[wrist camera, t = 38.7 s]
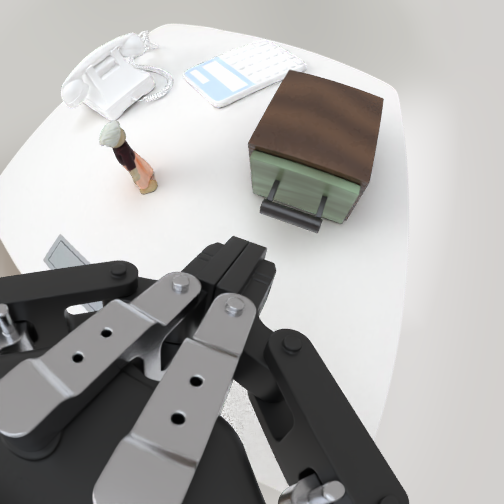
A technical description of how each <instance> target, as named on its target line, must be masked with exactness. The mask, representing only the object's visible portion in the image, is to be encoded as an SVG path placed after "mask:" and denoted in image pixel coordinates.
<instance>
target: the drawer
mask: <svg viewBox="0 0 504 504" xmlns="http://www.w3.org/2000/svg"><path fill="white" fill-rule="evenodd" d="M250 166H251V176H252V187H253V193H254V194H257V195H260V196H263V197H267V200H266V199H264V200H263V202H262V204H261V207H260V213H261V214H264V215H267V216H270V217H273V218H276V219H278V220H281V221H284V222H287V223H290V224H293V225H295V226H298V227H301V228H304V229H307V230H309V231H312V232H315V233H318V231H319V229H320V226H321V223H322V219H321V217H324V218H327V219H329V220H332V221H335V222H338V223H340V224H342V222H343V220H344V219H345V217H346V215H347V214H348V212H349V210H350V209H351V207H352V205H353V204H354V202H355V200H356V199H357V197H358V195H359V192H360V188H361V186H360V185H358V184H355V183H353V181H350V180H348V179H345V178H342V177H339V176H337V175H334V176H333V175H331V174H328V173H325V172H322V171H319V170H316V169H313V168H310V167H307V166H304V165H301V164H298V163H296V161H293V160H289V159H286V158H283V157H280V156H276V155H273V154H270V153H266V152H264V153H262V152H259V151H255V150H254V151H253V152H252V154H251V156H250ZM273 200H276V201H278V202H281V203H284V204H287V205H290V206H293V207H296V208H299V209H302V210H305V211H307V212H310V213H313V214H316V216H313V215H310V214H307V213H304V212H301V211H298V210H296V209H293V208H290V207H287V206H284V205H281V204H278V203H275V202H272V201H273Z"/></svg>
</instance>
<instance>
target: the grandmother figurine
mask: <svg viewBox="0 0 504 504" xmlns="http://www.w3.org/2000/svg"><path fill="white" fill-rule="evenodd" d="M125 139H126V135H125V132H124V130H123V129H121V128H120V124H119V122H118V121H111V122H110V123H108V124H106V125H105V126H104V128H103V129H102V131H101V133H100V138H99V143H100V145H101V146H104V145H106V146H107V147H111V148H113V151H114V153H115V156H116V158H117V160H118V161H119V163H120V164H121V165H123V167H124V168H125V169H126V170H127V171H129V173H130V174H131V176H132V178H133V180H134V183H135V184H137V185H138V187H139V188H140V192H141V193H142V194H146V193H150V192H153V191H155V190H156V188H157V182H156V181H155V180H151V179H150V178H151V176H152V175H153V169H152V168H151V166H150V165H149V164H148V163H147V162H146V161H145V160H144V159H143V158H142V157H140V156H139V155H138V154H137V153H136V152H134V151H133V150H132V149H131V148H130V146H129V145H128V143H127V142H126V140H125Z"/></svg>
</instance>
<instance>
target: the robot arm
mask: <svg viewBox="0 0 504 504" xmlns="http://www.w3.org/2000/svg"><path fill="white" fill-rule="evenodd" d="M266 251H267V248H266V247H263V246H260V245H257V244H254V243H252V242H249V241H246V240H243V239H241V238H238V237H235V236H232V237H231V238H230V239H229V240H228V241H227V242H226V244H225V245H223V244H221V243H218V242H217V243H215V244H212V245H209V246H207V247H206V248H205V249H204V250H203V251H202V253H200V254H199V255H198V256H197V258H195V259H194V260H193V261H191V262H190V263H189V264H188V265H187V266H186V267H185V268H184V269H183V270H182V271H181V272H172V273H168V274H166V275H165V276H163V277H162V278H161V279H159V280H152V279H147V278H142V277H138V269H137V268H136V266H135V265H133V264H132V263H129V262H126V261H110V262H103V263H96V264H89V265H82V266H75V267H68V268H61V269H54V270H48V271H41V272H34V273H27V274H21V275H14V276H7V277H1V278H0V504H266V503H265V501H264V498H263V496H262V493H261V491H260V488H259V486H258V483H257V481H256V478H255V475H254V473H253V470H252V468H251V465H250V462H249V460H248V457H247V454H246V451H245V449H244V446H243V444H242V442H241V440H240V438H239V436H238V435H237V433H236V432H235V430H234V429H233V428H232V427H231V425H230V424H229V423H228V422H227V421H226V420H225V419H224V418H223V417H221V416H220V415H221V412H222V409H223V406H224V404H225V401H226V398H227V396H228V393H229V390H230V388H231V385H232V382H233V379H234V380H235V381H236V382H238V383H239V384H240V385H242V386H243V387H244V388H245V389H247V390H248V396H249V399H250V401H251V404H252V406H253V409H254V411H255V413H256V416H257V418H258V420H259V422H260V425H261V427H262V429H263V432H264V434H265V436H266V438H267V440H268V443H269V445H270V447H271V449H272V451H273V454H274V456H275V458H276V460H277V462H278V464H279V466H280V469H281V471H282V473H283V475H284V477H285V479H286V481H287V483H288V485H289V487H288V488H286V489H285V490H284V491H283V492H282V494H281V495H280V497H279V500H278V504H409V499H408V496H407V494H406V492H405V490H404V489H403V487H402V486H401V484H400V482H399V481H398V479H397V478H396V476H395V474H394V473H393V471H392V470H391V468H390V467H389V465H388V463H387V462H386V460H385V459H384V457H383V456H382V454H381V452H380V451H379V449H378V448H377V446H376V445H375V443H374V441H373V440H372V438H371V436H370V435H369V433H368V432H367V430H366V428H365V427H364V425H363V424H362V422H361V421H360V419H359V417H358V416H357V414H356V413H355V411H354V409H353V408H352V406H351V405H350V403H349V402H348V400H347V398H346V397H345V395H344V394H343V392H342V390H341V389H340V387H339V386H338V384H337V383H336V381H335V379H334V378H333V376H332V375H331V373H330V372H329V370H328V368H327V367H326V365H325V364H324V362H323V360H322V359H321V357H320V356H319V354H318V353H317V351H316V349H315V348H314V346H313V345H312V343H311V342H310V340H309V339H308V338H307V337H306V336H305V335H303V334H302V333H300V332H298V331H295V330H291V329H280V330H277V331H275V332H273V331H272V330H270V329H269V328H267V327H266V326H265V325H264V324H263V323H262V322H261V320H260V318H259V315H260V313H261V311H262V309H263V306H264V304H265V302H266V300H267V297H268V294H269V291H270V288H271V285H272V282H273V279H274V276H275V273H276V268H275V264H274V263H272V262H270V261H267V260H264V258H265V255H266ZM97 301H102V302H103V308H102V309H100V310H99V311H94V312H88V313H82V314H77V315H72V314H70V313H68V312H67V310H66V308H68V307H70V306H73V305H79V304H85V303H91V302H97Z"/></svg>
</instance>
